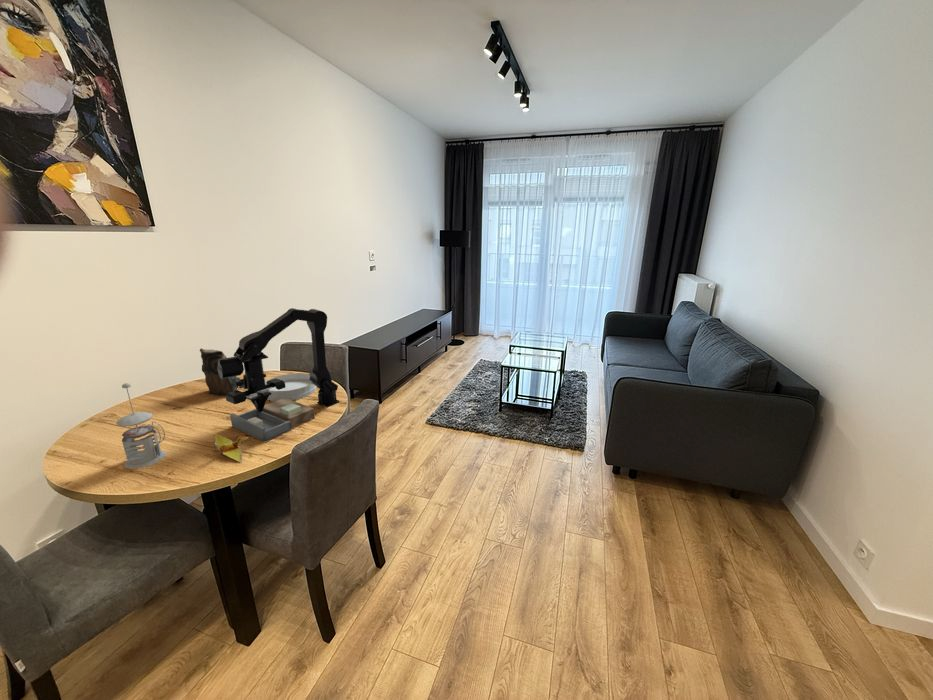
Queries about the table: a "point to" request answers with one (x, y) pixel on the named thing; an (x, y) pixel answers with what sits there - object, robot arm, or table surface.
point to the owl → (215, 373)
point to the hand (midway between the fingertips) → (260, 411)
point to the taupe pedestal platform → (295, 419)
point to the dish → (292, 387)
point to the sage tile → (290, 409)
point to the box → (264, 433)
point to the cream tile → (256, 421)
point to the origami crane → (229, 447)
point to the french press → (129, 443)
